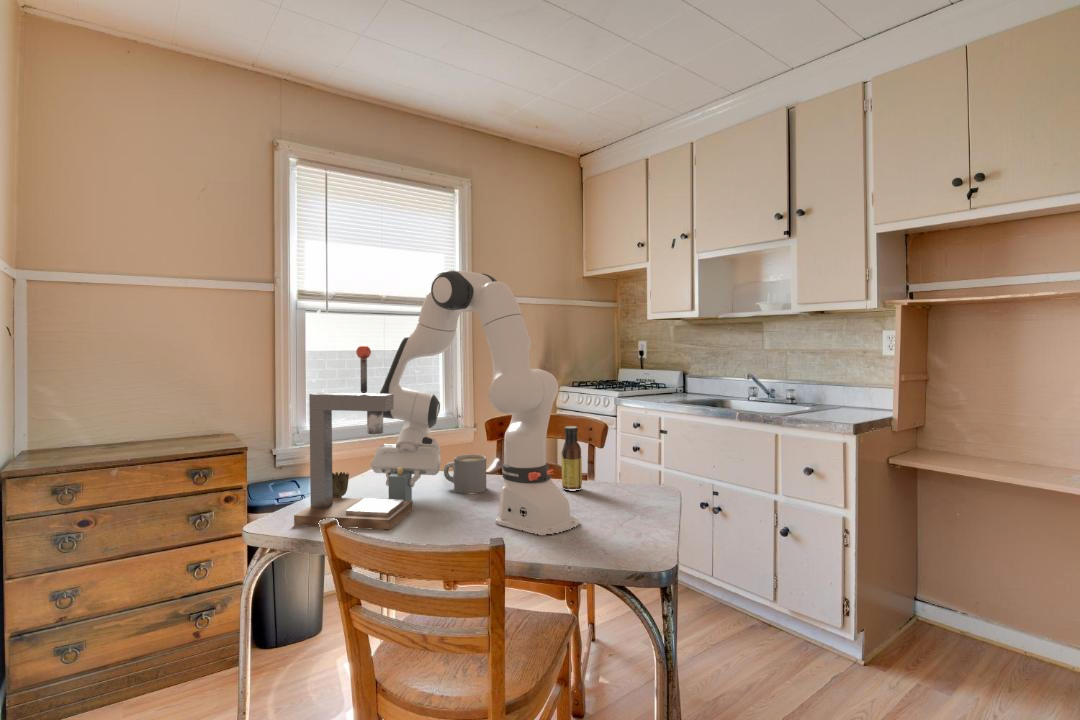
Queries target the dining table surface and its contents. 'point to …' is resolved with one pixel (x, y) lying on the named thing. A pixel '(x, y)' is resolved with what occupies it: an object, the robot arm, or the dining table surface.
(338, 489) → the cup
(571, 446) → the sauce bottle
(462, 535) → the dining table surface
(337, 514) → the press base
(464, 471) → the coffee mug
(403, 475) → the housing
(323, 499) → the press frame
